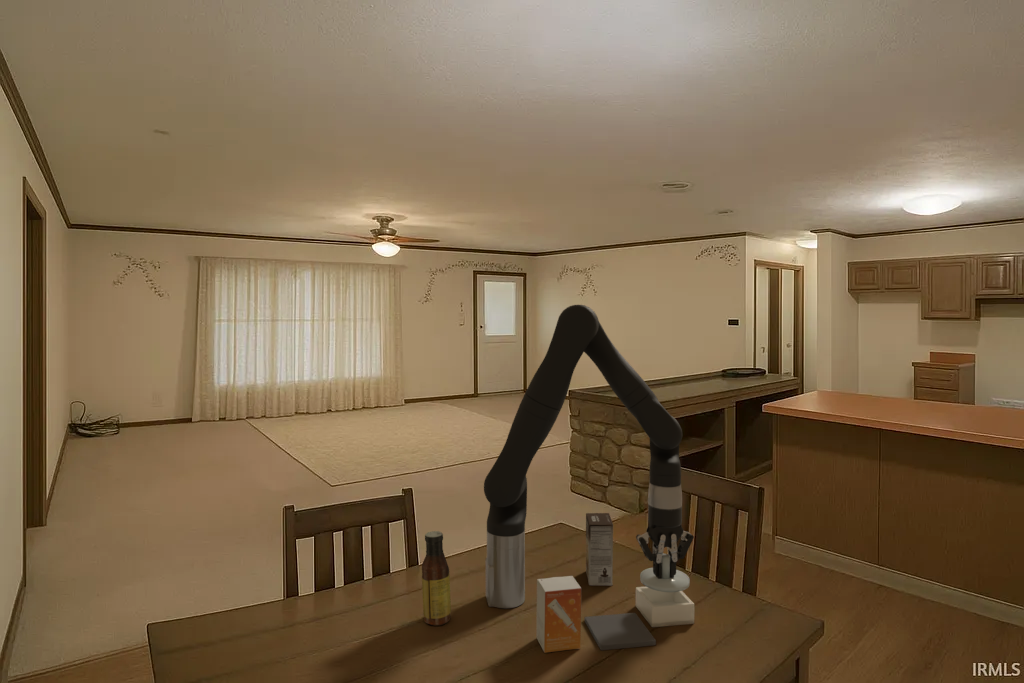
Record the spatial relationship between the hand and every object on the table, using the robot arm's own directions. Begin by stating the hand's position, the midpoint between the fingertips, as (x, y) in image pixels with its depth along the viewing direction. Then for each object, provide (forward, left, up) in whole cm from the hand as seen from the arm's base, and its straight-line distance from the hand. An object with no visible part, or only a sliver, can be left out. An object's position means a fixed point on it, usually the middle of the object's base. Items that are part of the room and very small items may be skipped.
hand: (664, 576), depth 139 cm
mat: (-13, -6, -9) cm, 17 cm away
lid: (0, 0, -1) cm, 1 cm away
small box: (-27, -8, -9) cm, 30 cm away
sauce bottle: (-52, +6, -9) cm, 53 cm away
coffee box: (-9, +21, -9) cm, 25 cm away
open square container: (0, 0, -9) cm, 9 cm away
